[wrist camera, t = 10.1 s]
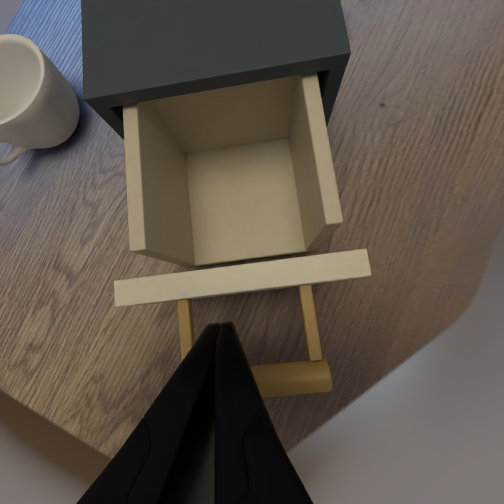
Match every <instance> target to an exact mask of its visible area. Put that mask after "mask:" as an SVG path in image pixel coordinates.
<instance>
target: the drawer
mask: <svg viewBox="0 0 504 504" xmlns="http://www.w3.org/2000/svg"><path fill="white" fill-rule="evenodd" d="M123 123H124V144H125V164H126V184H127V205H128V225H129V245H130V251H131V252H135V253H138V254H142V255H146V256H149V257H153V258H156V259H160V260H163V261H167V262H171V263H174V264H178V265H181V266H185V267H189V268H190V267H197V266H205V265H213V264H221V263H228V262H236V261H244V260H251V259H259V258H267V257H275V256H282V255H290V254H298V253H306V252H313V251H315V250H316V249H317V248H318V247H319V246H320V245H321V244H322V243H323V242H324V241H325V240H326V239H327V238H328V237H329V236H330V235H331V234H332V233H333V232H334V231H335V230H336V229H337V228H338V227H339V226H340V225H341V224H342V223H343V217H342V211H341V206H340V200H339V194H338V189H337V183H336V178H335V172H334V166H333V161H332V155H331V150H330V144H329V138H328V133H327V127H326V121H325V116H324V110H323V105H322V99H321V93H320V88H319V82H318V76H317V72H313V73H307V74H301V75H295V76H290V77H284V78H278V79H272V80H266V81H261V82H255V83H249V84H243V85H237V86H232V87H226V88H220V89H214V90H208V91H202V92H197V93H191V94H185V95H179V96H173V97H168V98H162V99H156V100H150V101H144V102H139V103H133V104H127V105H123ZM368 276H371V269H370V264H369V259H368V253H367V249H358V250H350V251H342V252H334V253H327V254H319V255H311V256H303V257H296V258H288V259H280V260H272V261H264V262H257V263H249V264H241V265H233V266H226V267H218V268H210V269H202V270H194V271H187V272H179V273H171V274H163V275H156V276H148V277H140V278H132V279H125V280H117V281H114V294H115V307H123V306H133V305H143V304H153V303H163V302H173V301H177V310H178V324H179V337H180V351H181V362H182V361H183V359H184V358H185V356H186V355H187V353H188V352H189V351H190V349H191V348H192V346H193V345H194V343H195V335H194V323H193V310H192V300H191V299H200V298H208V297H216V296H224V295H233V294H241V293H249V292H257V291H265V290H274V289H282V288H290V287H298V291H299V298H300V305H301V312H302V318H303V325H304V332H305V339H306V346H307V353H308V358H309V360H303V361H293V362H283V363H274V364H264V365H255V366H250V368H251V370H252V373H253V376H254V378H255V381H256V383H257V386H258V389H259V391H260V394H261V396H262V398H269V397H279V396H289V395H300V394H310V393H321V392H330V391H332V379H331V373H330V369H329V365H328V363H327V361H326V359H324V358H322V352H321V345H320V339H319V332H318V326H317V319H316V313H315V306H314V299H313V293H312V286H311V285H315V284H323V283H330V282H337V281H343V280H349V279H356V278H362V277H368Z"/></svg>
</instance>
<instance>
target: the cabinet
mask: <svg viewBox="0 0 504 504" xmlns="http://www.w3.org/2000/svg"><path fill="white" fill-rule="evenodd" d="M81 13H82V53H83V94H84V100H85V101H86V102H87V103H88V104H89V105H90V106H91V107H92V108H93V109H94V110H95V111H96V112H97V113H98V114H99V115H100V116H101V117H102V118H103V119H104V120H105V121H106V122H107V123H108V124H109V125H110V126H111V127H112V128H113V129H114V130H115V131H116V132H117V133H118V134H119V135H120V136H121V137H122V138H123V139H124V123H123V105H127V104H133V103H139V102H144V101H150V100H156V99H162V98H168V97H173V96H179V95H185V94H191V93H197V92H202V91H208V90H214V89H220V88H226V87H232V86H237V85H243V84H249V83H255V82H261V81H266V80H272V79H278V78H284V77H290V76H295V75H301V74H307V73H313V72H317V76H318V82H319V88H320V93H321V99H322V105H323V110H324V116H325V121H326V127H327V125H328V122H329V119H330V116H331V112H332V109H333V106H334V103H335V100H336V97H337V94H338V90H339V87H340V84H341V81H342V78H343V75H344V72H345V68H346V66H347V63H348V60H349V57H350V54H351V50H350V45H349V40H348V36H347V31H346V26H345V21H344V16H343V11H342V6H341V1H340V0H81Z"/></svg>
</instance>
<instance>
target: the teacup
mask: <svg viewBox="0 0 504 504" xmlns="http://www.w3.org/2000/svg"><path fill="white" fill-rule="evenodd" d="M78 121H79V105H78V101H77V98H76V95H75V93H74V91H73V89H72V87H71V86H70V84H69V83H68V81H67V80H66V78H65V77H64V76H63V75H62V73H61V72H60V71H59V70H58V69H57V67H56V66H55V65H54V64H53V63H52V62H51V61H50V59H49V58H48V57H47V56H46V55H45V54H44V53H43V52H42V51H41V50H40V49H39V48H38V46H37V45H36V44H35V43H33V42H32V41H31V40H29V39H28V38H26V37H23V36H20V35H16V34H4V35H0V142H9V143H11V144H12V150H11V152H10V154H9V155H8V156H7V157H6V158H4V159H2V160H0V166H4V165H7V164H10V163H12V162H13V161H15V160H16V159H17V158H19V157H20V156H21V155H22V154H23V153H25V152H26V151H27V150H30V149H44V148H51V147H54V146H57V145H59V144H61V143H63V142H64V141H66V140H67V139H68V138H69V137H70V136H71V135H72V134H73V132H74V131H75V129H76V127H77V124H78Z"/></svg>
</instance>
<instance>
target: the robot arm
mask: <svg viewBox="0 0 504 504" xmlns="http://www.w3.org/2000/svg"><path fill="white" fill-rule="evenodd" d="M77 504H313V502H312V501H311V498H310V497H309V495H308V493H307V491H306V489H305V487H304V485H303V484H302V482H301V480H300V478H299V476H298V475H297V473H296V471H295V469H294V467H293V465H292V463H291V462H290V460H289V458H288V456H287V454H286V452H285V450H284V448H283V446H282V444H281V442H280V440H279V438H278V436H277V433H276V431H275V429H274V426H273V424H272V422H271V419H270V417H269V414H268V412H267V409H266V407H265V405H264V402H263V399H262V396H261V394H260V391H259V389H258V386H257V383H256V381H255V378H254V376H253V373H252V370H251V368H250V365H249V363H248V360H247V357H246V355H245V352H244V350H243V347H242V344H241V342H240V339H239V337H238V334H237V331H236V329H235V326H234V324H233V322H232V321H226V322H221V324H220V323H210V324H208V325H207V326H206V328H205V329H204V330H203V332H202V333H201V335H200V336H199V338H198V339H197V340H196V342H195V343H194V345H193V346H192V348H191V349H190V351H189V352H188V353H187V355H186V356H185V358H184V359H183V361H182V362H181V363H180V365H179V366H178V368H177V369H176V371H175V372H174V373H173V375H172V376H171V378H170V379H169V381H168V382H167V384H166V385H165V386H164V388H163V389H162V391H161V392H160V394H159V395H158V396H157V398H156V399H155V401H154V402H153V404H152V405H151V407H150V408H149V409H148V411H147V412H146V414H145V415H144V418H142V419H141V421H140V422H139V424H138V425H137V426H136V428H135V429H134V431H133V432H132V434H131V435H130V436H129V438H128V439H127V440H126V442H125V443H124V445H123V446H122V447H121V449H120V450H119V451H118V453H117V454H116V455H115V456H114V458H113V459H112V460H111V462H110V463H109V464H108V465H107V467H106V468H105V469H104V470H103V472H102V473H101V474H100V475H99V477H98V478H97V479H96V480H95V481H94V483H93V484H92V485H91V486H90V488H89V489H88V490H87V491H86V492H85V494H84V495H83V496H82V497H81V499H80V500H79V501H78V502H77Z"/></svg>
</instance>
